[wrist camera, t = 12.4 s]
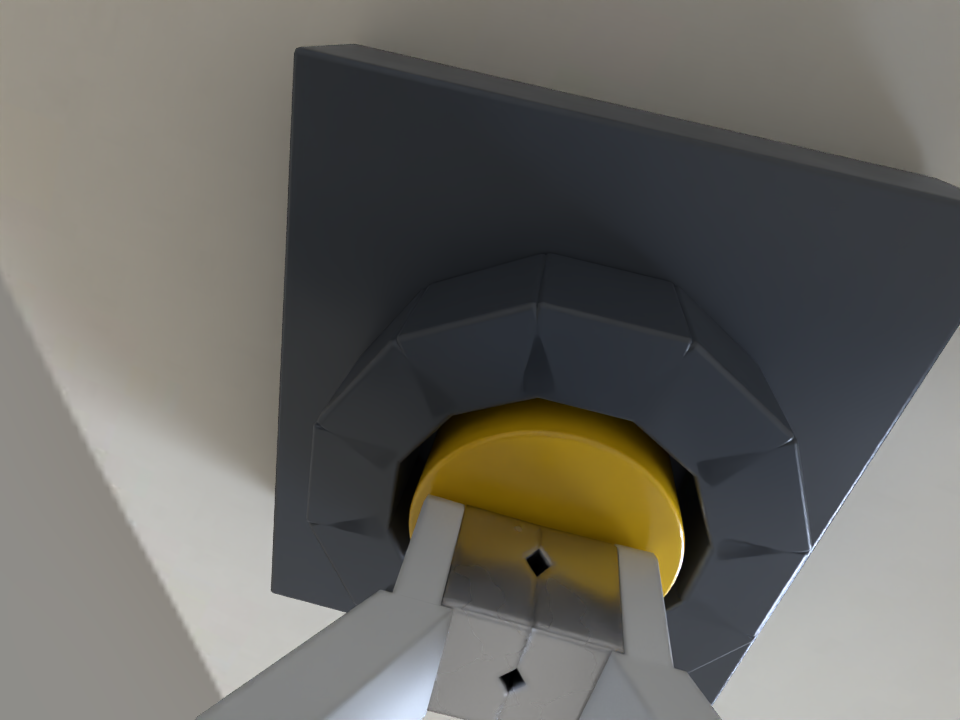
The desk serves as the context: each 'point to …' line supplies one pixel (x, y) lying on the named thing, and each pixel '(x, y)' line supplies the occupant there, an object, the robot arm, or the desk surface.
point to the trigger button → (560, 475)
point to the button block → (590, 318)
